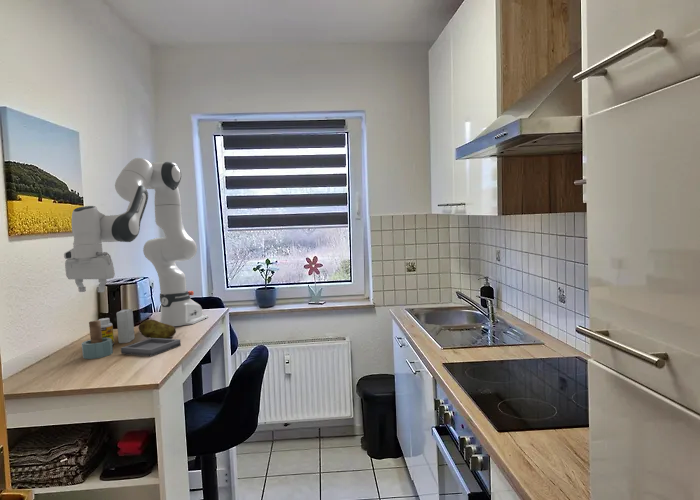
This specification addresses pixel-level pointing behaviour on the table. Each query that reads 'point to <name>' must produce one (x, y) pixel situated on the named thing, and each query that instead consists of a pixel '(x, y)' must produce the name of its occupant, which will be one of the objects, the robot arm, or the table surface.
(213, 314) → the table surface
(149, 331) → the potato
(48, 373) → the table surface
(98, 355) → the tube
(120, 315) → the skincare box
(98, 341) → the dowel
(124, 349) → the tray
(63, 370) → the table surface
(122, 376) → the table surface
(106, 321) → the supplement bottle
